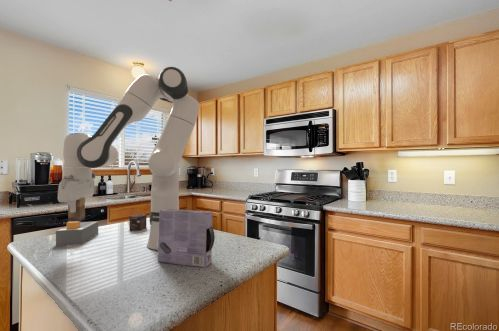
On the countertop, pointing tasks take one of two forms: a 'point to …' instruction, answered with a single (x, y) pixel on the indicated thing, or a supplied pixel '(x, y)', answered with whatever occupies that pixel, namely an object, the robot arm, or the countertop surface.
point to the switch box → (77, 234)
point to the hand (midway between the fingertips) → (77, 210)
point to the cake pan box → (185, 237)
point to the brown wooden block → (80, 211)
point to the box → (137, 222)
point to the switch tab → (72, 224)
